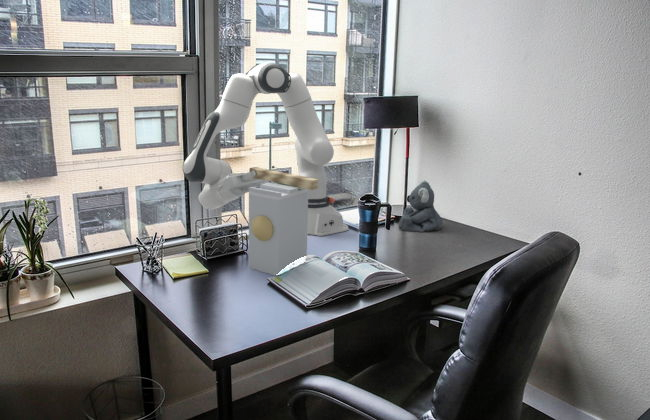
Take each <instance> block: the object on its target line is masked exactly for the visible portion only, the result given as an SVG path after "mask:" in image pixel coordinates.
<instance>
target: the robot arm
mask: <svg viewBox="0 0 650 420" xmlns="http://www.w3.org/2000/svg"><path fill="white" fill-rule="evenodd" d="M259 94H264V95H269V94H277V95H278V97H279V98H280V100H281V103H282V106H283V108H284V112H285V114H286V117H287V119H288V122H289V126H290V127H291V129H292V130H293V133H294V135H295V137H296V139H295V142H294V147H295V152H296V163H297V170H298V176H303V177H308V178H313V179H318V188H317V189H314V190H309V189H308V222H307V235H314V236H317V237H318V236H319V237H323V236H328V235H333V234H337V233H342V232H346V231H349V225H347V224H346V223H344V217H343V215H342V213H341V212H340V211H338V209H335V207H334V206H332V205H331V204H334V203H335V199H334V198H333V197H330V196H327V183H328V182H327V181H328V180H327V179H328V178H327V174H326V169H325V165H326V164H327V165H328V163H330V162H331V161H332V159H333V157H334V153H335V150H334V147H333V145H332V143H331V141H330V139H329V138H328V135H327V133H326V130H325V128H324V127H323V124H322V123H321V121H320V118H319V116H318V114H317V111H316V109H315V105H314V103H313V99H312V97H311V94H310V92H309V89H308V87H307V85H306V82H305V80H304V79H303V77H302V75H301V74H299V73H296V72H288V71H287V70H286V69H285V68H284V67H282V66H281V65H280V64H278V63H276V62H262V63H260V64H256V65H254V66H253V67H251V68H250V69H249V70H248V71H247V72H245V73H235V74H233V75H232V76H230V78H229V80H228V82H227V83H226V86H225V88H224V90H223V93H222V97H221V99H220V103H219V104H218V106H217V108H216V109H215V110H214V111H212V112H210V113H209V114H208V115H207V117H206V118H205V121H204V122H203V125H202V126H201V129H200V131H199V133H198V135H197V137H196V139H195V142H194V144H193V145H192V148H191V150H190V151H189V153H188V155H187V156H186V158H185V159H184V161H183V164H182V172H183V175H184V177H185V178H186V180H188V182H190V183H197V184H198V183H199V184H204V186H203V189H202V191H200V192H199V194H198V201H199V204H201V206H202V207H203V208H205V209H207V210H216V209H219V208H221V207H223V206H226V205H227V204H229V203H230V202H233V201H235V200H237V199H238V198H240V197H242V196H244V195H245V194H247V193H249V187H254V188H257V187H258V186H260V185H261V184H263V183H264V182H266V180H263V179H258V178H253V177H254V176H256V175H257V172H256V170H254V171H251V172H244V173H235V172H233V170H232V167H231V164H229V163H228V162H227V161H225V160H221V159H217V158H213V157H209V156H207V155H208V153H209V150H210V148H211V145H212V143H213V142H214V140H215V137H216V136H217V135H218V134H219V133H220V132H223V131H227V130H233V129H234V130H235V129H237V128H240V127H241V126H244V125H245V124H246V122H248V121H247V120H248V118H249V117H250V112H251V110H252V105H253V103H254V102H253V101H254V99H255V97H256V96H257V95H259ZM330 203H331V204H330Z"/></svg>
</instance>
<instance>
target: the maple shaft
mask: <svg viewBox="0 0 650 420" xmlns="http://www.w3.org/2000/svg"><path fill="white" fill-rule="evenodd" d="M254 170H256V172H257V175H256V176H254V177H253V178H258V179H263V180H265V181H267V182H271V183H276V184H277V183H281V184H286V185H291V186H295V187H300V188H305V189H309V190H314V189H317V188H318V179H313V178H308V177H303V176H299V174H293V173H288V172H282V171H277V170H273V169H267V168H264V167H263V168H262V167H259V166H257V167H256V166H253V167H249V172H251V171H254Z"/></svg>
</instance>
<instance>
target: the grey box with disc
mask: <svg viewBox="0 0 650 420" xmlns="http://www.w3.org/2000/svg"><path fill="white" fill-rule="evenodd" d="M307 222H308V189H305V188H300V187H295V186H291V185H286V184H281V183H277V182H266V183H261V184H259V188H258V187H249V192H248V268H249V269H250V270H251V269H252V270H254V271H255V270H256V271H258V272H262V273H266V274H269V275H272V276H275V275H276V274H278V273H279V272H280V271H281V270H282V269H284V268H285V267H286V266H287V265H289V264H290V263H292V262H294V261H295V260H297V259H299V258H301V257H304V256H308V253H307V252H308V251H307V250H308V234H307Z"/></svg>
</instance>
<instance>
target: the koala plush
mask: <svg viewBox="0 0 650 420" xmlns="http://www.w3.org/2000/svg"><path fill="white" fill-rule="evenodd" d="M419 182H420V181H419ZM406 201H407V203H409V205H410V207H409V206H406V207H405V208H404V210H403V214H402V216H401V218H399V222H398V225H397V227H398V229H399V230H401V231H406V232H419V233H424V232H430V231H439V230H441V228H442V227H443V226H444V224H443V219H442V217H441V215H440V214H439V212H437V209H435V206H434V202H435V192H434V190H433V189H432V186H431V184H430V183H429V182H428V181H427V180H422V181H421V182H420V183H419V185H417V186H416V187H415V188H413V190H412V191H411V192H410V194H409V195H407V197H406Z"/></svg>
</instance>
